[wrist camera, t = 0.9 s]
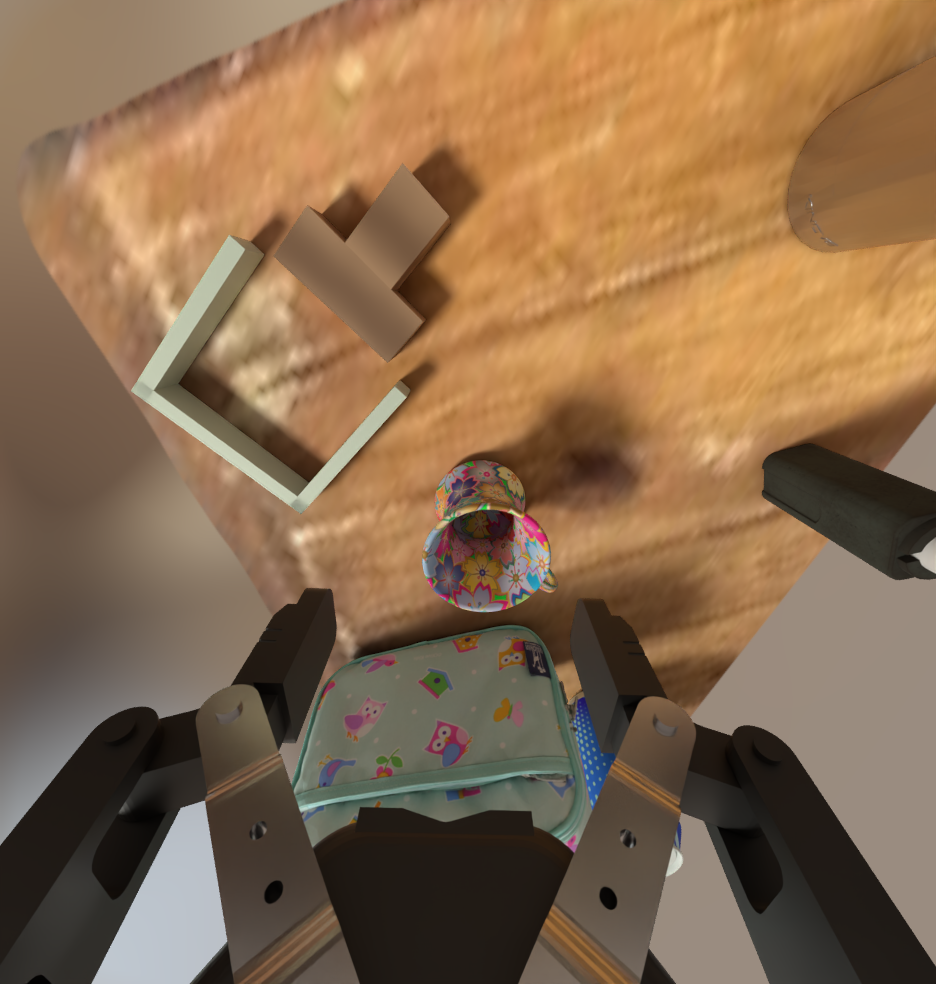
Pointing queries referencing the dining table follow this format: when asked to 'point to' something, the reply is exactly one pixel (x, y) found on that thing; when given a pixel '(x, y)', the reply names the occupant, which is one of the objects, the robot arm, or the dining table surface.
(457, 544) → the mug
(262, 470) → the bay
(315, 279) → the t block
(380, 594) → the dining table surface
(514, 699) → the lunch box
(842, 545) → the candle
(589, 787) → the beer can
